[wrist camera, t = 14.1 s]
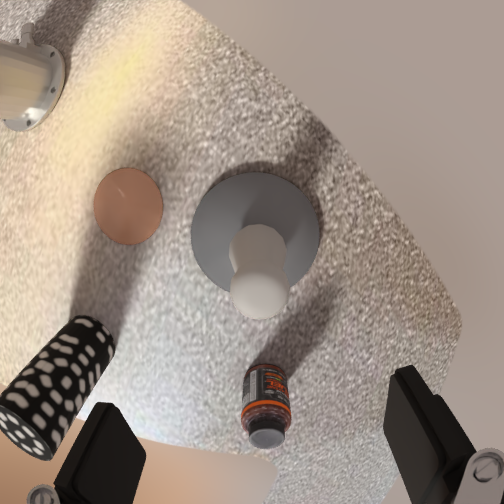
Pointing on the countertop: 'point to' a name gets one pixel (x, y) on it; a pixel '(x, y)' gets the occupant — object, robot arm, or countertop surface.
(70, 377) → the spotted tube
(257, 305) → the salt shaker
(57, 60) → the robot arm
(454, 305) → the countertop surface
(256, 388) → the supplement bottle
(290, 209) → the slate plate
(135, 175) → the terracotta spot
